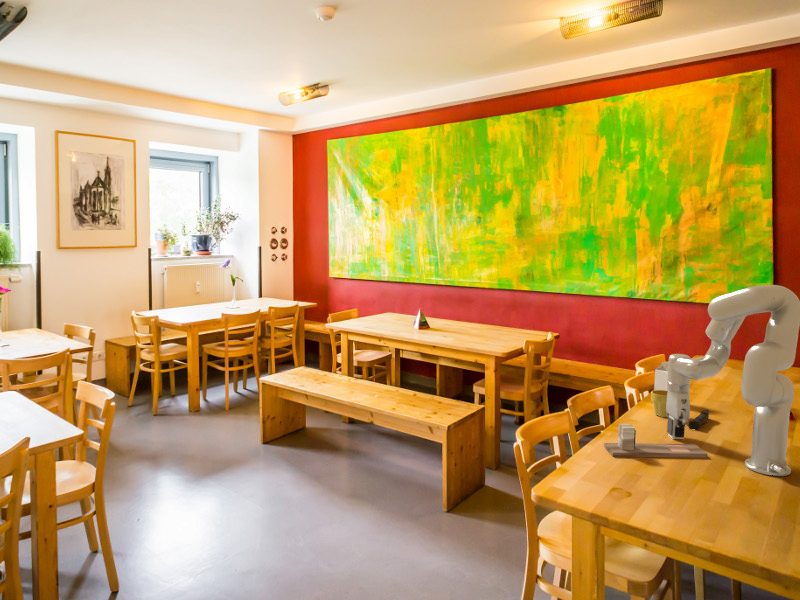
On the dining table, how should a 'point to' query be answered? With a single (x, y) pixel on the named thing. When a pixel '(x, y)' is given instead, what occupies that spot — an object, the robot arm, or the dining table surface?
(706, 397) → the dining table surface
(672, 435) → the block
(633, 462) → the dining table surface
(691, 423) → the hand tool
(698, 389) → the dining table surface
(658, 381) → the milk carton
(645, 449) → the rail
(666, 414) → the plant pot
